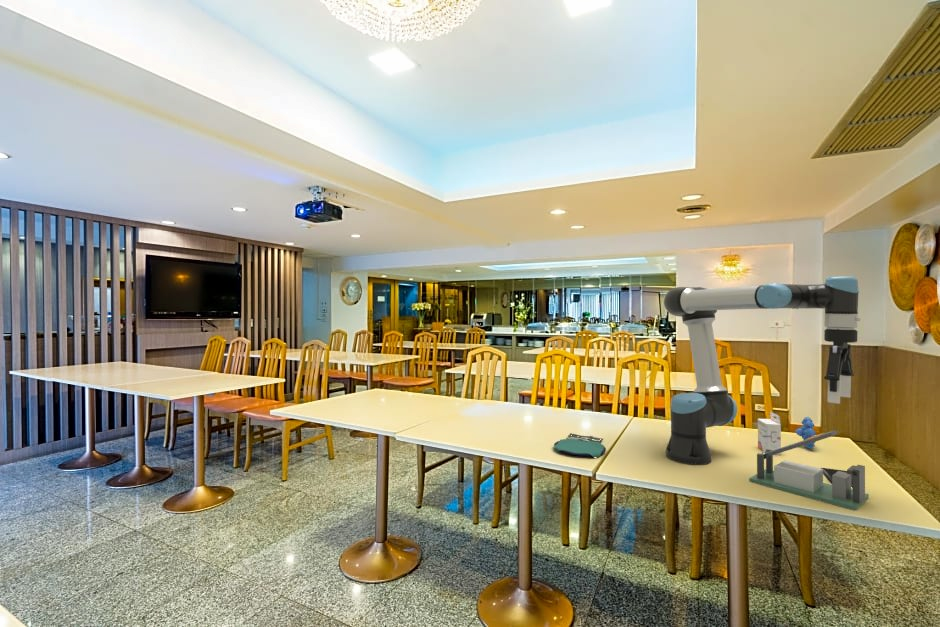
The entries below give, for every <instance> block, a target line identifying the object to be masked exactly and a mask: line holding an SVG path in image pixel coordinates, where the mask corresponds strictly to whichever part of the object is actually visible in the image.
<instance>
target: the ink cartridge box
mask: <svg viewBox="0 0 940 627" xmlns="http://www.w3.org/2000/svg"><path fill="white" fill-rule="evenodd" d="M769 415H770V418H757V448H758V449H760V450H761V451H762V452H765V451H766V449H769V450H776V449H779V448H782V438H781V436H782V434H781V433H782V430H781V427H782V425H781V417H780V416H779V415H778V414H777V413H774V412H772V411H769ZM781 454H782V452H781V453H778V454H775V455H777V456H778V455H781Z"/></svg>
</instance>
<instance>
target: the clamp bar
mask: <svg viewBox="0 0 940 627" xmlns="http://www.w3.org/2000/svg"><path fill="white" fill-rule="evenodd" d="M836 435H838V431H837V430H836V429H834V430H831V431H827V432H822V433H819V434H815V436H812V437H810V438H808V439H806V440H804V439H802V440H801V441H800V440H799V441H798V442H795V443H791V444H788V445H785V446H781V448H779V449H776V450H772V451H765V452H764V451H762V452H761V453H760V454H763V455H764V460H766V458H768V457H770V456H772V455H773V456H775V455H776V454H778V453H781V454H782V453H783V452H784V453H785V452H787V451H790V450H793V449H796V448H800V447H803V446H805V445H806V444H810V443H813V442H815V443H816V442H819V441H822V440H825V439H829V438H831V437H834V436H836Z"/></svg>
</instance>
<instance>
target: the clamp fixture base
mask: <svg viewBox="0 0 940 627" xmlns="http://www.w3.org/2000/svg"><path fill="white" fill-rule="evenodd" d="M766 451H772V450H769V449H766ZM821 468H822V467H820V468H819V467H816V466H810V465H807V464H802V463H797V462H794V461H789V460H783V461H781V462H779V463H777V464H775V465H774V455H772V456H770V457H768V458H766V459H764V455H763V454H761V453H756V474H755V475H753V476H751V477H749V478H748V480H749V482H750V483H755V484H758V485H760V486H765V487H768V488H772V489H776V490H779V491H783V492H787V493H789V494H794V495H796V496H797V495H798V496H801V497H804V496H805V498H808V499H812V498H813V500H815V499H816V501H819V500H820V501H819V502H823V501H824V502H823V503H826V502H828V504H830V503H831V505H833V506H834V505H835V506H837V507H840V508H841V507H842V508H845V509H848V508H849V510H852V509H853V511H855V510H856V511H857V510H858V509H859V508H860V507H861V506H862V505H863V504H864V503H863V502H864V501H865V500H866V499H867V498H868V497H869V496H870V495H869V493H866V466H865V465H863V464H857V465H851V466H850V467H848V469H846V471H847V473H845V472H841V471H837V472H836V473H835V474H833V475H832V484H831V483H830V484H829V483H825V482H824V474H823V469H821ZM851 475H853V488H851ZM868 499H869V498H868ZM868 499H867V500H868ZM867 500H866V501H867ZM866 501H865V502H866ZM862 503H863V504H862ZM861 504H862V505H861ZM860 505H861V506H860ZM859 506H860V507H859ZM858 507H859V508H858Z"/></svg>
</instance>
